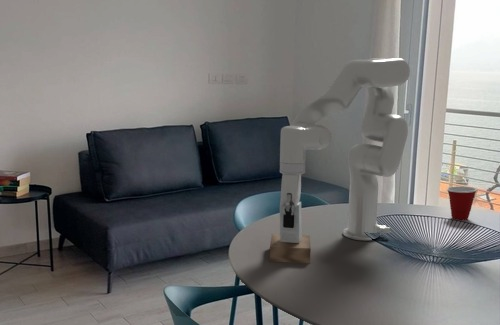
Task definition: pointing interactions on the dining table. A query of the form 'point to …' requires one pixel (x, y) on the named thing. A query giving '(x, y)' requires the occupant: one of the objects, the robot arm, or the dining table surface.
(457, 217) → the plastic cup
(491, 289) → the dining table surface
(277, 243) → the tan flat square block
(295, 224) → the skincare box
